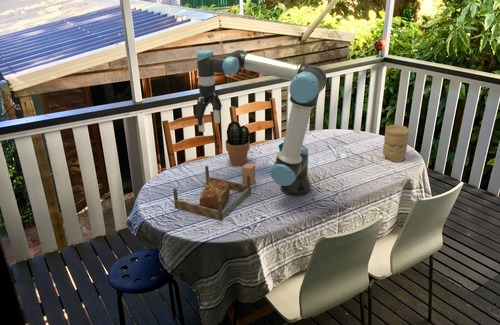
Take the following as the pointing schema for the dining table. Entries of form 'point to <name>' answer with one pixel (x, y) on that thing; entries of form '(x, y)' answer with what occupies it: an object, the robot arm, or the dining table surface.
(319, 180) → the dining table surface
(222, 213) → the bay
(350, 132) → the dining table surface
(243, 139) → the potted plant
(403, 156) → the container
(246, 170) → the tan rectangular block
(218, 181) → the bread
